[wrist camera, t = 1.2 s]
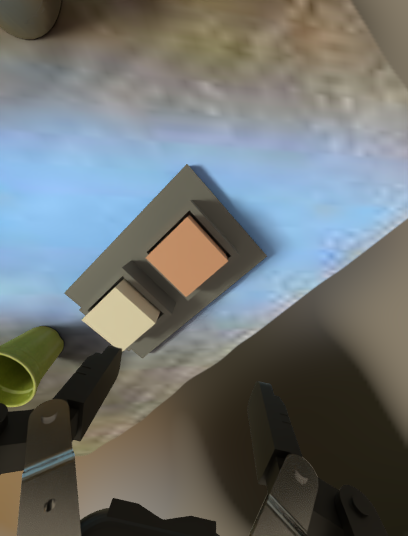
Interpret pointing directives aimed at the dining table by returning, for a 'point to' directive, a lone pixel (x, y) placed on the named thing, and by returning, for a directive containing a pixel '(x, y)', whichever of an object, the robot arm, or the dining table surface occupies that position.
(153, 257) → the terracotta key
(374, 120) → the dining table surface
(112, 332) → the cream key
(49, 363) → the plant pot
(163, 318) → the key panel
